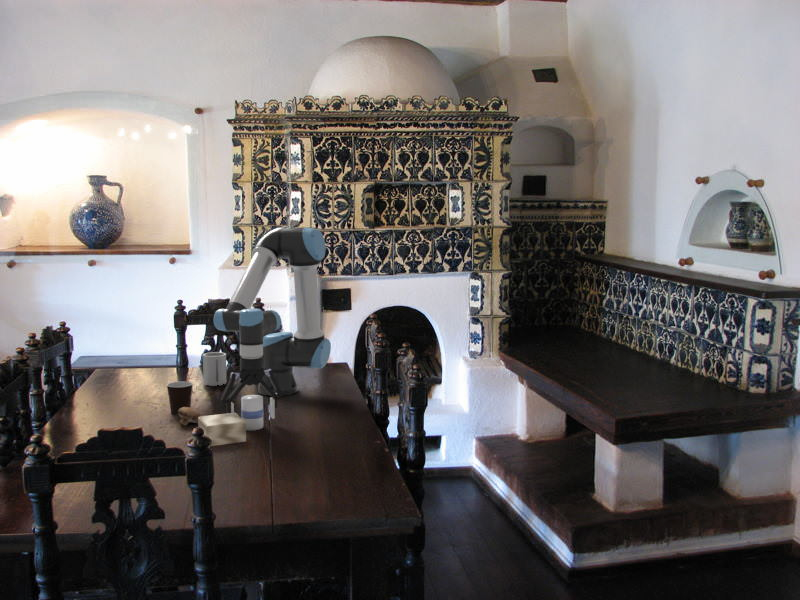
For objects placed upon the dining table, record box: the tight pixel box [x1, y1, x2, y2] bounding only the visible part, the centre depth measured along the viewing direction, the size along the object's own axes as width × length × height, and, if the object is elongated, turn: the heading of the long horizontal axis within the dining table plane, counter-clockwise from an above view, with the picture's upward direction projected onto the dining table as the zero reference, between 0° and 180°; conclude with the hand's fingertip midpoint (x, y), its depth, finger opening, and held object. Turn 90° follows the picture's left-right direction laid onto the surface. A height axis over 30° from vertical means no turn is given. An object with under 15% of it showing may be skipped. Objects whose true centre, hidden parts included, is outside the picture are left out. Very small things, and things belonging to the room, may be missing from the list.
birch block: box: [197, 412, 247, 447], centre depth 234 cm, size 12×12×6 cm
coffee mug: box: [166, 381, 194, 416], centre depth 265 cm, size 12×9×10 cm
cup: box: [202, 351, 228, 387], centre depth 306 cm, size 9×9×12 cm
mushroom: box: [178, 406, 201, 426], centre depth 249 cm, size 8×8×6 cm
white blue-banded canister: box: [240, 394, 265, 431], centre depth 246 cm, size 7×7×10 cm
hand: (252, 420), depth 247 cm, fingers open, 13 cm apart
